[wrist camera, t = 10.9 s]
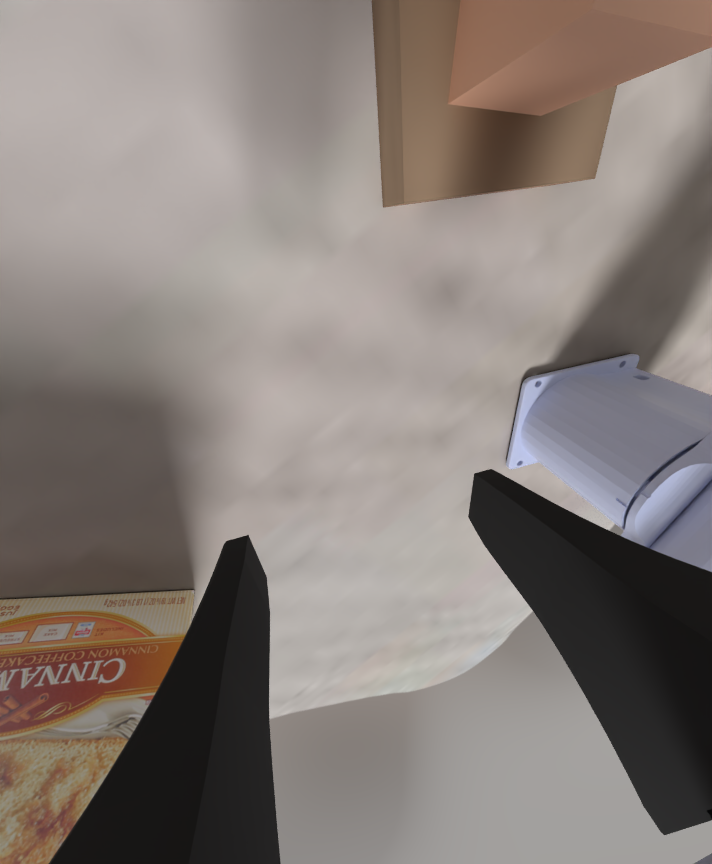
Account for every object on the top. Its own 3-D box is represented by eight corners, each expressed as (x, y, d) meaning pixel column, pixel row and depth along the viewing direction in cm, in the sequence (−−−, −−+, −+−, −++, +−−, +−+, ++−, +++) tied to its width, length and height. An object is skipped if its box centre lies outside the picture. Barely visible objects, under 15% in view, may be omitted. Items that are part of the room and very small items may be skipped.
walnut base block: (597, -124, 12) (689, -220, 9) (544, 186, 17) (594, 178, 14) (359, -135, 10) (393, -251, 8) (379, 208, 15) (404, 203, 13)
